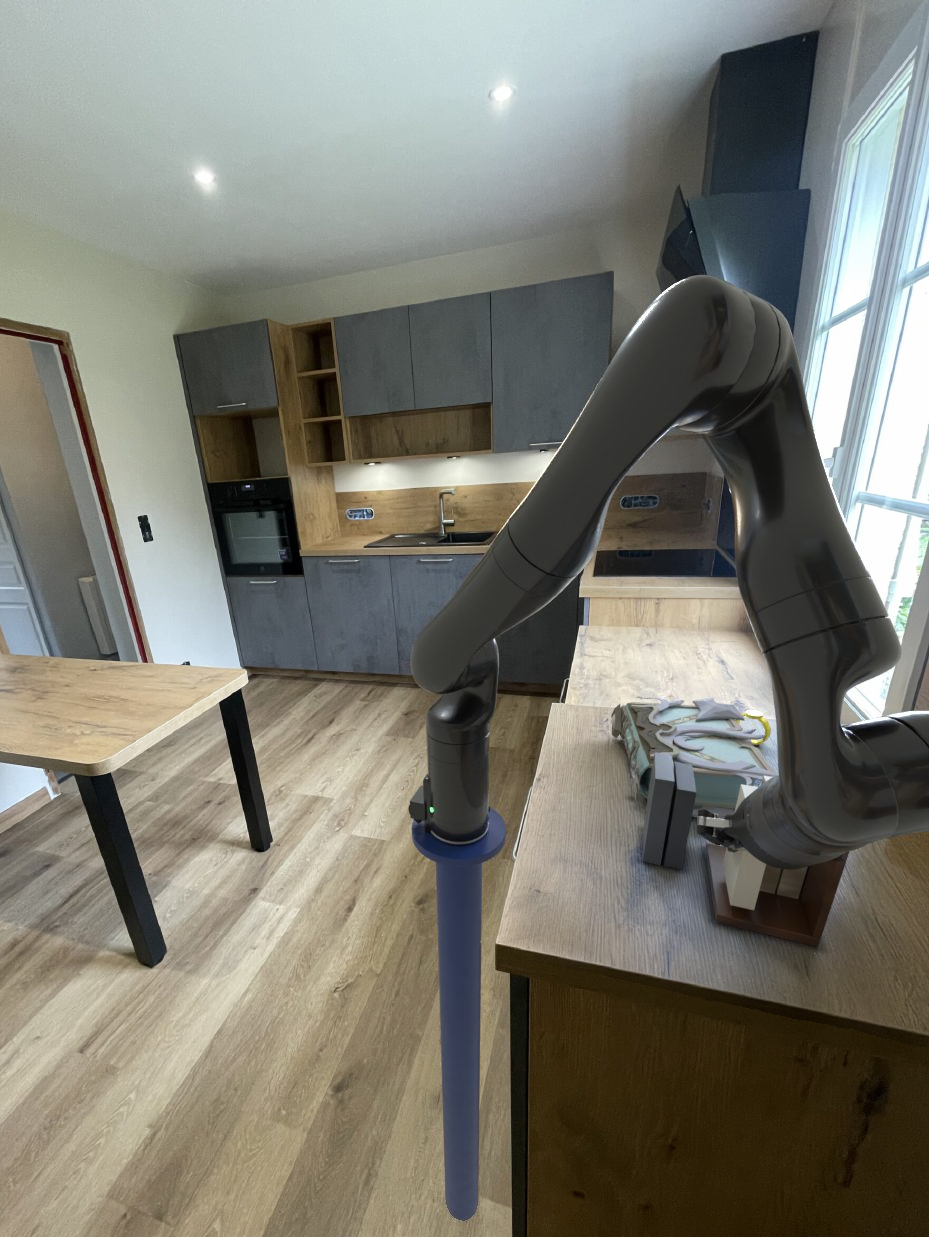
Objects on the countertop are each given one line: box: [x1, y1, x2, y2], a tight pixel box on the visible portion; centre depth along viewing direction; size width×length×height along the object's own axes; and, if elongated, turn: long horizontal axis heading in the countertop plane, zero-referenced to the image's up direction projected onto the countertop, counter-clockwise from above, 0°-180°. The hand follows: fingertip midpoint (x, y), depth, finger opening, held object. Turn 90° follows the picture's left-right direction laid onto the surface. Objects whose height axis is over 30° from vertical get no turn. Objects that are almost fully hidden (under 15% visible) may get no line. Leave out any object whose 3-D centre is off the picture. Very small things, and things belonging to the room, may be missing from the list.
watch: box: [736, 709, 772, 746], centre depth 99 cm, size 6×3×6 cm, turn 32°
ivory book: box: [723, 784, 766, 910], centre depth 61 cm, size 2×7×12 cm, turn 158°
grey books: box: [642, 752, 696, 870], centre depth 71 cm, size 5×7×13 cm
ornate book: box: [610, 696, 779, 819], centre depth 89 cm, size 23×10×30 cm
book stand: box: [704, 776, 851, 948], centre depth 63 cm, size 10×13×13 cm
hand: (745, 845), depth 62 cm, fingers closed on ivory book, 2 cm apart
